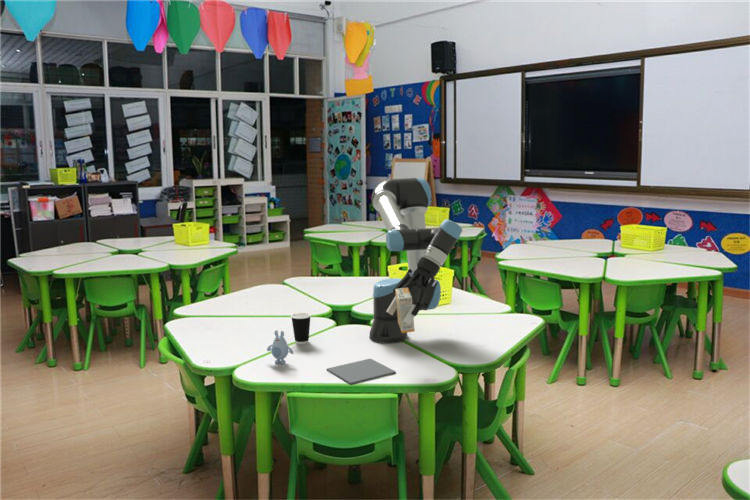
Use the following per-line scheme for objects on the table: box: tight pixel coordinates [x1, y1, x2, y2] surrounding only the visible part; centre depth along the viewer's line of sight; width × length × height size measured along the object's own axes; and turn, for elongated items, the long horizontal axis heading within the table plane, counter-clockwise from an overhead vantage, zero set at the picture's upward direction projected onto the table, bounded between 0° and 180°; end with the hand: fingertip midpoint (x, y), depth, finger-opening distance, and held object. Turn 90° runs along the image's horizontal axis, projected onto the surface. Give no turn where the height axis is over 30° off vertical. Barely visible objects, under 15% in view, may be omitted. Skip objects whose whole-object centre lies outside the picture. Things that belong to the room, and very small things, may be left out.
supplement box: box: [395, 288, 415, 333], centre depth 220 cm, size 8×5×13 cm, turn 6°
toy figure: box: [266, 329, 294, 365], centre depth 231 cm, size 11×6×12 cm, turn 70°
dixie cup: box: [290, 312, 312, 345], centre depth 254 cm, size 8×8×11 cm
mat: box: [326, 358, 397, 385], centre depth 222 cm, size 18×16×1 cm
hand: (397, 318), depth 219 cm, fingers closed on supplement box, 9 cm apart
